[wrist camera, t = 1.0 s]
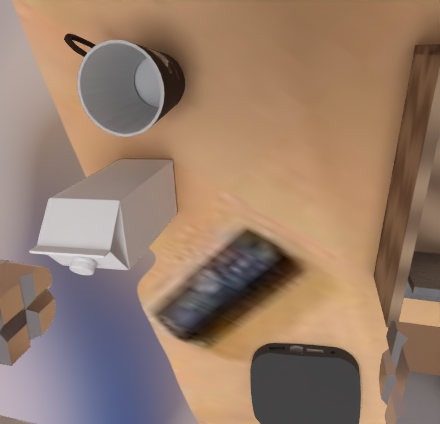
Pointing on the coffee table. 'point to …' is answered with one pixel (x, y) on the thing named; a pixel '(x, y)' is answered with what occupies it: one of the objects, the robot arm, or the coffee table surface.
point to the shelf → (412, 184)
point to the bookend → (424, 277)
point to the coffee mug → (126, 85)
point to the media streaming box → (305, 385)
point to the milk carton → (109, 216)
